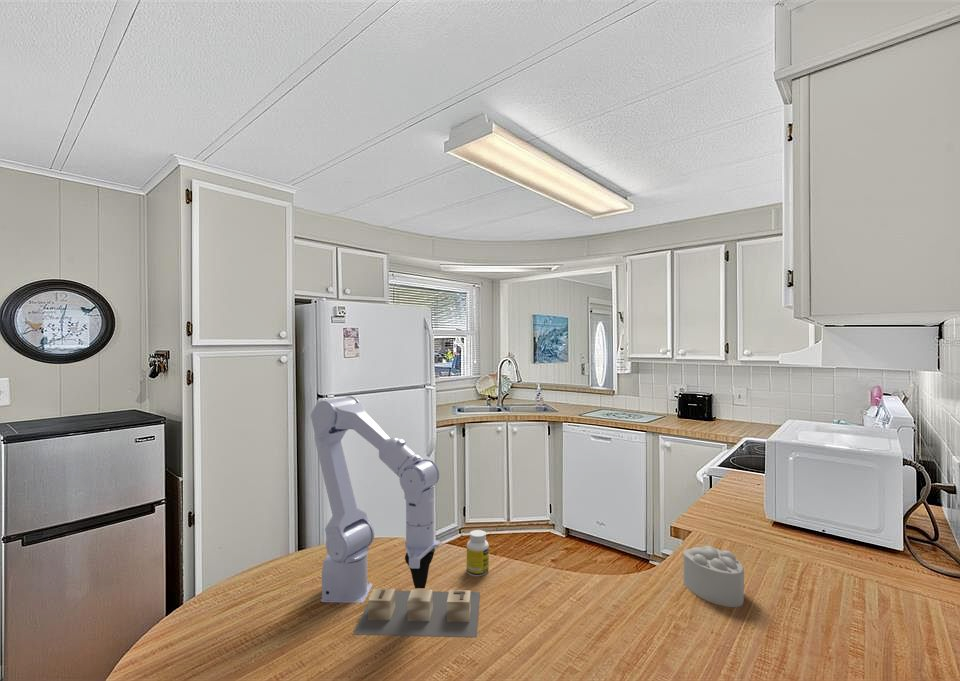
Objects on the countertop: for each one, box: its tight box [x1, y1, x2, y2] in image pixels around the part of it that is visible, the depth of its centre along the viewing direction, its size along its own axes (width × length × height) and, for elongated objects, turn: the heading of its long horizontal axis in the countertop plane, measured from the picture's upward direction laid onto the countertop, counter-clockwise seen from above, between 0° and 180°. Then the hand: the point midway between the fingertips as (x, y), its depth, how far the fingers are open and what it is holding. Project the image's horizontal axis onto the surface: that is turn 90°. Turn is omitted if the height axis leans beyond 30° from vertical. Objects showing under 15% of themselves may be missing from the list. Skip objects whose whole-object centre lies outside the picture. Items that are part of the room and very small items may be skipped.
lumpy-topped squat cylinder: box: [682, 545, 745, 608], centre depth 109 cm, size 10×13×9 cm
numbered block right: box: [447, 589, 472, 622], centre depth 99 cm, size 4×4×4 cm
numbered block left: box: [367, 588, 396, 620], centre depth 100 cm, size 4×4×4 cm
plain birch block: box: [407, 588, 434, 621], centre depth 99 cm, size 4×4×4 cm
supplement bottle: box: [466, 529, 490, 577], centre depth 118 cm, size 5×5×10 cm
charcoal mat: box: [352, 590, 481, 638], centre depth 100 cm, size 24×16×1 cm, turn 88°
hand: (420, 586), depth 99 cm, fingers closed
